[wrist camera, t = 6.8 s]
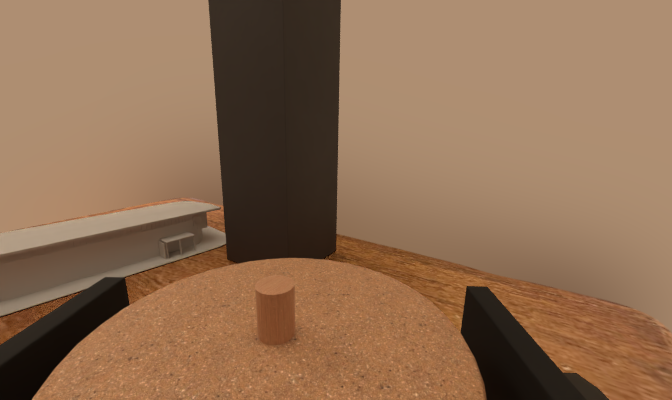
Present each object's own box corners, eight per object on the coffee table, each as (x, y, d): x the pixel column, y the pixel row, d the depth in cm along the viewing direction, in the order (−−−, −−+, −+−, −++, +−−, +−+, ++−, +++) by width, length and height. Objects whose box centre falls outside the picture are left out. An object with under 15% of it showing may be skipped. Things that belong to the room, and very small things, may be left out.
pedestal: (336, 250, 34) (344, -162, 25) (288, 280, 27) (277, -266, 18) (280, 235, 38) (270, -125, 29) (227, 259, 31) (193, -199, 22)
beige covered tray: (240, 239, 36) (238, 207, 35) (-85, 343, 19) (-106, 285, 18) (179, 214, 46) (176, 188, 45) (-76, 268, 28) (-90, 227, 27)
